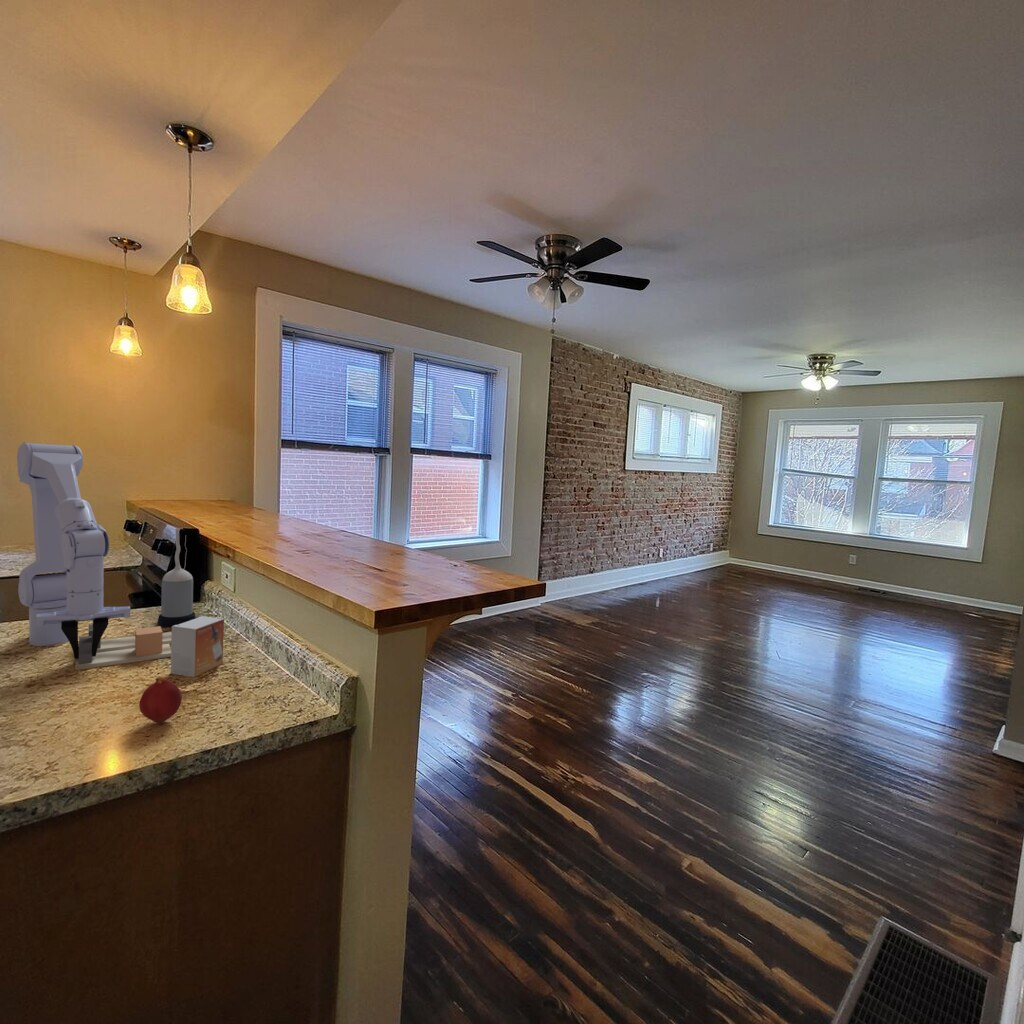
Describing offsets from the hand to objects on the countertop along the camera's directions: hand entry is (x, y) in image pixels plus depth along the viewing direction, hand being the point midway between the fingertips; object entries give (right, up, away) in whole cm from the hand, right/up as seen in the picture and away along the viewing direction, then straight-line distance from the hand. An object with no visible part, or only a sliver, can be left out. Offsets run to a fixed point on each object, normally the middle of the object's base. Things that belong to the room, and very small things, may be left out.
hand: (85, 656), depth 107 cm
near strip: (+5, -2, +4) cm, 7 cm away
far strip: (+1, -1, +12) cm, 12 cm away
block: (+8, -1, +7) cm, 11 cm away
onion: (+28, -6, -19) cm, 34 cm away
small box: (+21, -4, +2) cm, 22 cm away
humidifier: (+1, 0, +28) cm, 28 cm away
